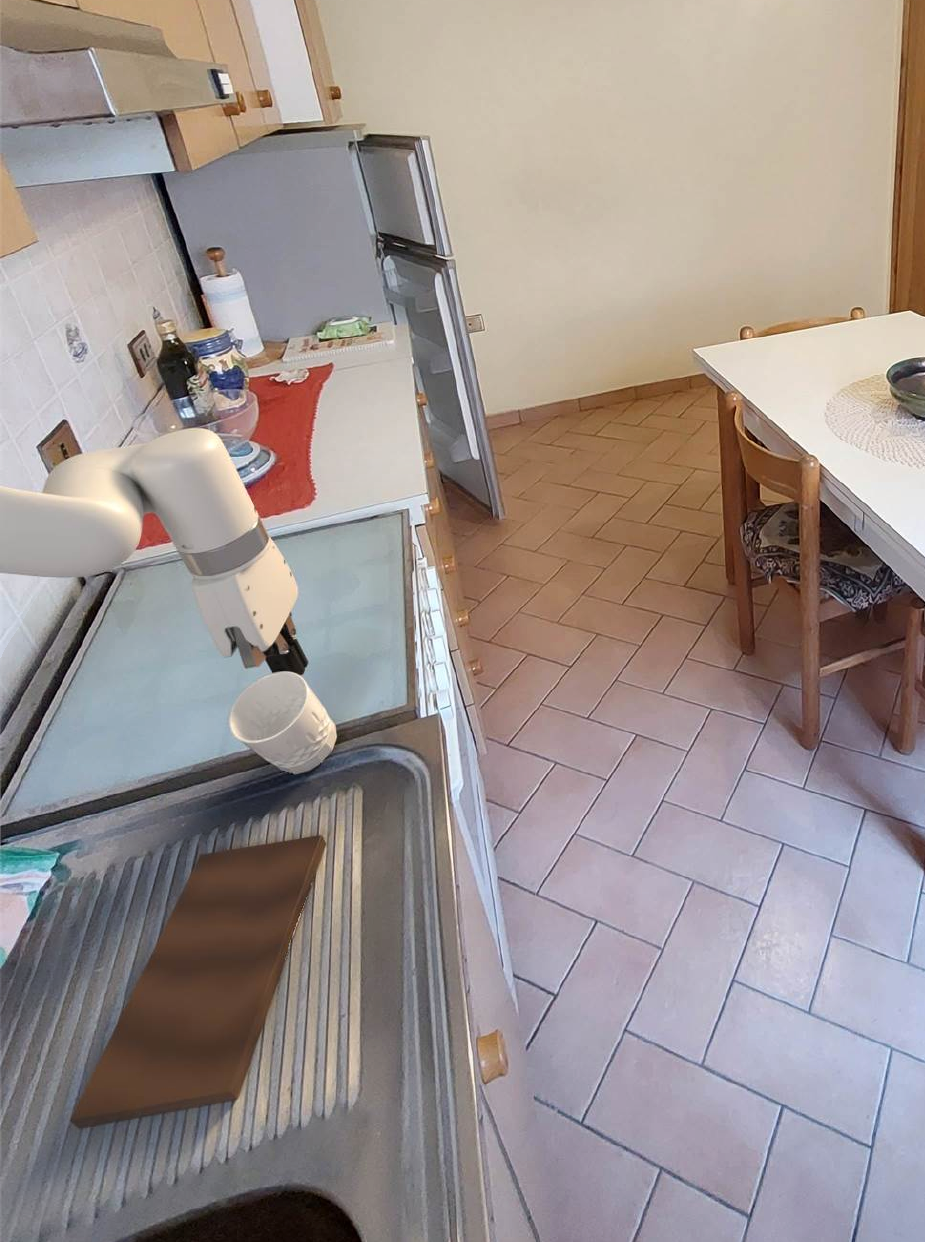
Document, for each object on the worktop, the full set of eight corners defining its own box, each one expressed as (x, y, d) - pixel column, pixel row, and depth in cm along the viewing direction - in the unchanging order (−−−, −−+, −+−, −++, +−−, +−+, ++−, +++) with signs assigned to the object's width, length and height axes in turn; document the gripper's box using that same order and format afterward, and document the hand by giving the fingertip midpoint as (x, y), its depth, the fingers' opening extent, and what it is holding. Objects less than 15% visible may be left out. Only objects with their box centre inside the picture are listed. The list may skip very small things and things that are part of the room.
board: (206, 863, 77) (200, 854, 76) (326, 843, 78) (321, 834, 77) (78, 1129, 59) (68, 1121, 58) (237, 1100, 59) (229, 1091, 59)
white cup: (255, 772, 86) (211, 734, 79) (297, 705, 91) (259, 665, 84) (317, 786, 84) (278, 749, 77) (355, 718, 90) (322, 678, 83)
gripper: (220, 508, 84) (283, 630, 93) (148, 600, 71) (230, 732, 80) (289, 497, 84) (346, 620, 93) (231, 587, 71) (303, 719, 80)
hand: (292, 671), depth 86 cm, fingers closed
